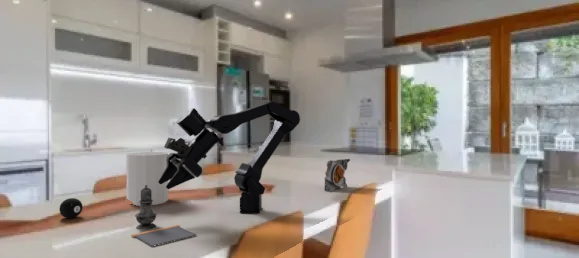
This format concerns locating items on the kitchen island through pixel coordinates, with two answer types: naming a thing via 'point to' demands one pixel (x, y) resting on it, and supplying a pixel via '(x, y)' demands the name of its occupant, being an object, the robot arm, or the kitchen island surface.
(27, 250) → the kitchen island surface
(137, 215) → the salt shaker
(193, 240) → the kitchen island surface
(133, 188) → the container
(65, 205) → the billiard ball
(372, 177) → the kitchen island surface
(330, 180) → the grey square flange bearing
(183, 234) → the dough scraper
